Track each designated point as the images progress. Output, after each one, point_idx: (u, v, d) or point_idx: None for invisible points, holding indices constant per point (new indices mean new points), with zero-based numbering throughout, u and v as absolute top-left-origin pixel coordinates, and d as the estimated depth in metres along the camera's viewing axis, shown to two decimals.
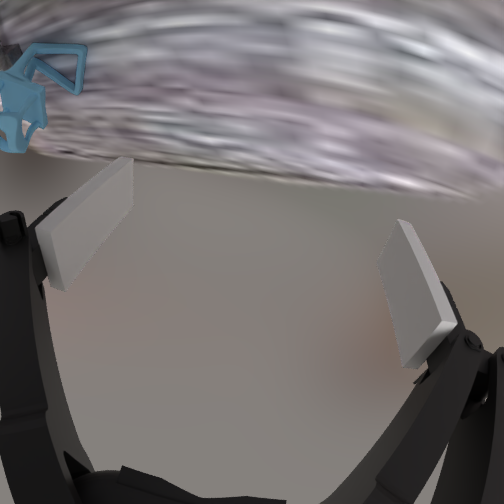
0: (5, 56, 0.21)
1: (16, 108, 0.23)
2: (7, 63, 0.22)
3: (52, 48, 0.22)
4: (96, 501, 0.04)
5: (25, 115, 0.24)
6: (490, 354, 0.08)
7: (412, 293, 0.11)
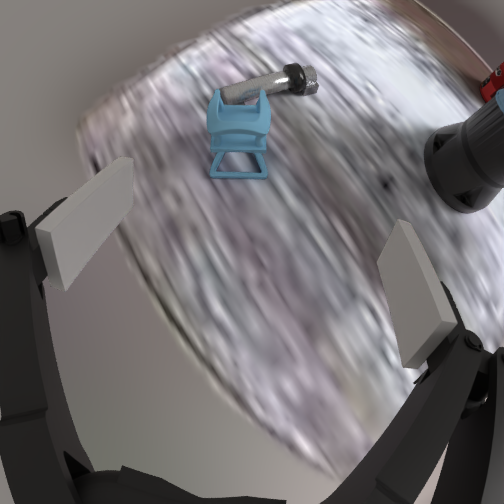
0: (242, 102, 0.41)
1: (227, 120, 0.35)
2: (233, 103, 0.41)
3: None
4: (96, 501, 0.04)
5: None
6: (490, 354, 0.08)
7: (412, 293, 0.11)
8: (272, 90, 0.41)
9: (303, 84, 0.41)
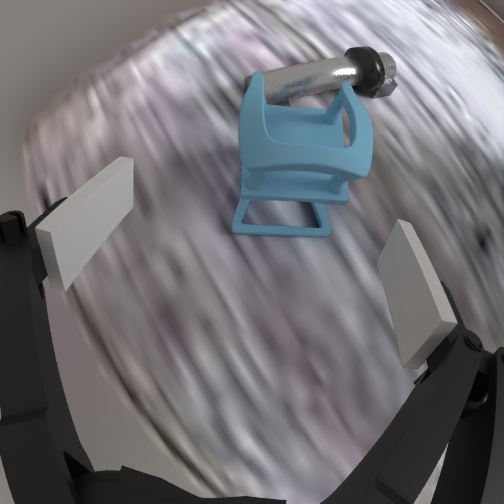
0: (285, 102, 0.24)
1: (271, 135, 0.18)
2: (270, 102, 0.24)
3: None
4: (96, 501, 0.04)
5: None
6: (490, 354, 0.08)
7: (412, 293, 0.11)
8: (334, 86, 0.24)
9: (380, 80, 0.24)
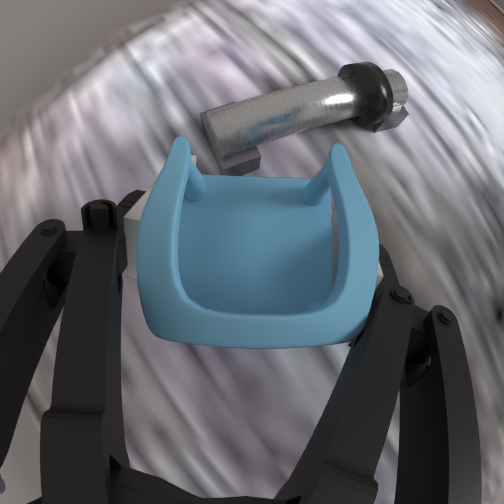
0: (253, 149, 0.18)
1: (216, 229, 0.13)
2: (232, 151, 0.18)
3: None
4: None
5: (198, 263, 0.12)
6: (425, 314, 0.10)
7: None
8: (322, 121, 0.18)
9: (386, 111, 0.18)
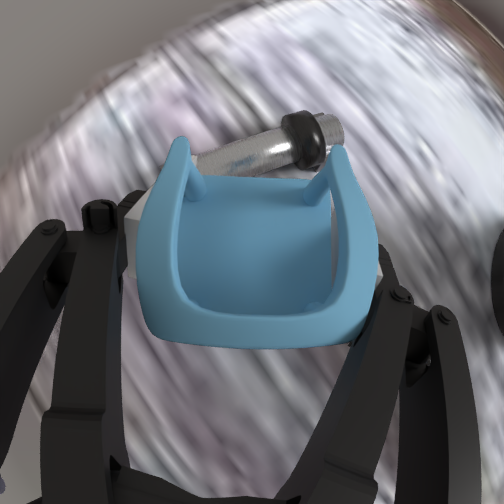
0: None
1: (216, 230, 0.13)
2: None
3: None
4: None
5: (198, 263, 0.12)
6: (424, 314, 0.10)
7: None
8: (259, 171, 0.23)
9: (319, 157, 0.23)
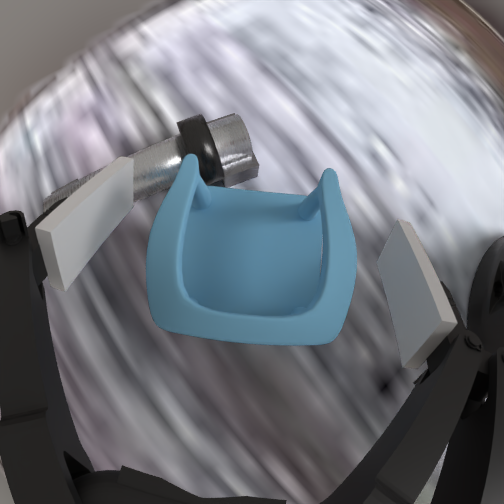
0: None
1: (218, 236, 0.14)
2: None
3: None
4: (96, 501, 0.04)
5: (200, 265, 0.14)
6: (490, 354, 0.08)
7: (412, 293, 0.11)
8: (143, 195, 0.19)
9: (215, 172, 0.18)
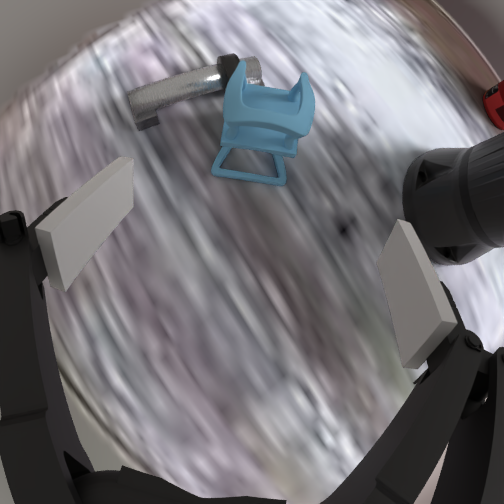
0: (153, 111, 0.29)
1: (247, 104, 0.25)
2: (141, 113, 0.29)
3: None
4: (96, 501, 0.04)
5: None
6: (490, 354, 0.08)
7: (412, 293, 0.11)
8: (195, 93, 0.29)
9: None
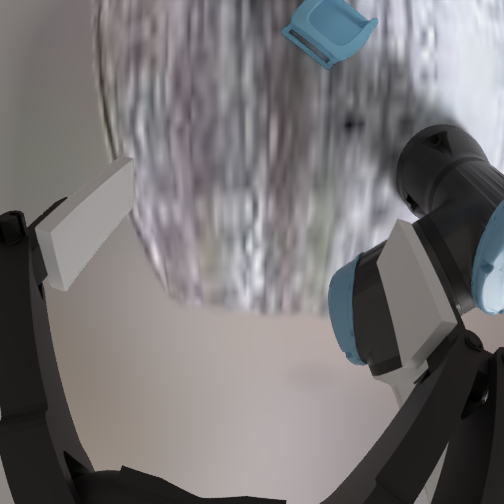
0: None
1: (325, 10, 0.24)
2: None
3: None
4: (96, 501, 0.04)
5: (312, 14, 0.25)
6: (490, 354, 0.08)
7: (412, 293, 0.11)
8: None
9: None
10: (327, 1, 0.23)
